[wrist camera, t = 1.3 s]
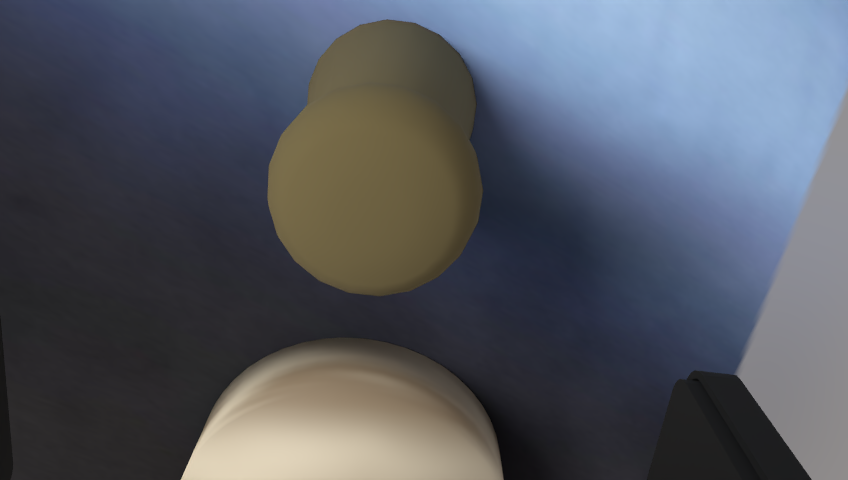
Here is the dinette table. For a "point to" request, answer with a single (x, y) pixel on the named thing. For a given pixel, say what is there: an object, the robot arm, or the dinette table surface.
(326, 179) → the olive pawn
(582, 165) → the dinette table surface
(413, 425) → the disc
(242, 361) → the dinette table surface
